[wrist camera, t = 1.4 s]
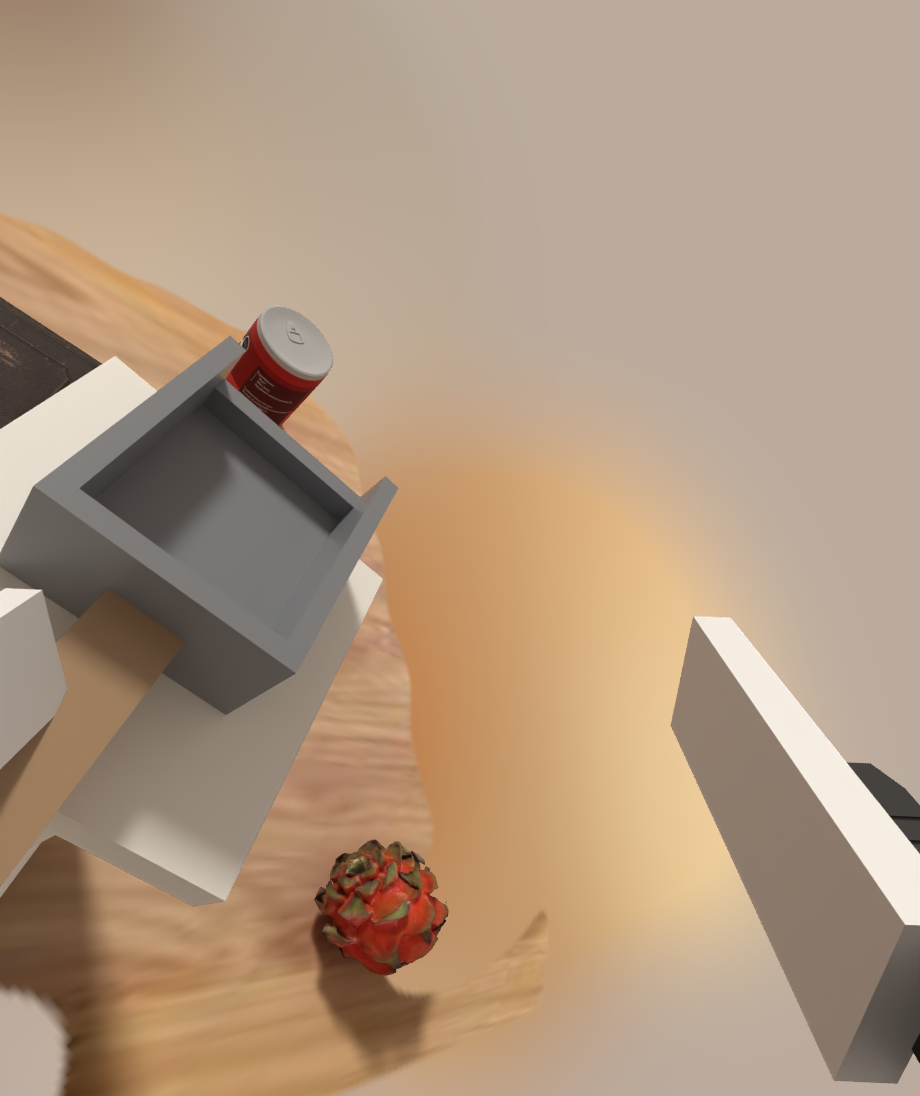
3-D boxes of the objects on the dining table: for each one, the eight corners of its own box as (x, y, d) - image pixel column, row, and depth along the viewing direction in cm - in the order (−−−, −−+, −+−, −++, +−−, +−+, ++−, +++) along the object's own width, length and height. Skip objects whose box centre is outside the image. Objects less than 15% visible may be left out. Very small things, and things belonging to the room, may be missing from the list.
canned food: (254, 372, 67) (307, 305, 60) (291, 434, 66) (348, 374, 60) (193, 376, 61) (243, 302, 54) (233, 445, 60) (289, 379, 54)
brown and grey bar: (-374, 1685, 7) (-454, 2030, 5) (-1334, 1672, 5) (-2353, 2305, 3) (335, 538, 23) (398, 488, 21) (179, 409, 21) (229, 335, 19)
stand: (-14, 941, 34) (225, 901, 15) (-250, 838, 30) (-300, 621, 11) (125, 749, 42) (382, 578, 24) (-43, 649, 38) (114, 356, 20)
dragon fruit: (281, 875, 47) (386, 917, 54) (293, 984, 40) (413, 1018, 46) (357, 799, 47) (454, 850, 53) (384, 896, 40) (492, 942, 46)
